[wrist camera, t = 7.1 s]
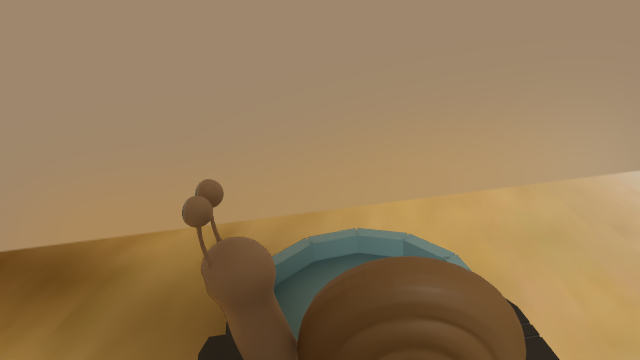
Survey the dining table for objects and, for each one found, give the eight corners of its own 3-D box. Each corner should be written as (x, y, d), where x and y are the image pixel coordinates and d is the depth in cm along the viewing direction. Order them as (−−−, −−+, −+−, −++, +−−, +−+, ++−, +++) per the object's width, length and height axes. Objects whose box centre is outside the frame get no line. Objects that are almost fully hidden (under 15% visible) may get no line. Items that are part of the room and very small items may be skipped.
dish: (198, 401, 24) (189, 370, 22) (293, 245, 36) (290, 221, 35) (493, 474, 19) (499, 440, 18) (483, 267, 32) (486, 240, 31)
